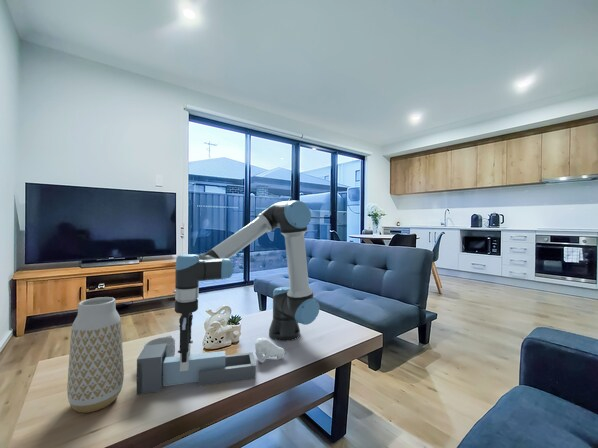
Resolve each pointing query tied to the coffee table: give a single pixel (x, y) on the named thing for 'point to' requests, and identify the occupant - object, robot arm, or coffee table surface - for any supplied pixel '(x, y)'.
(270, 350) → the white irregular piece
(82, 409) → the vase
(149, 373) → the endcap
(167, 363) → the blue-grey rectangular block
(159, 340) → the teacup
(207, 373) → the endcap
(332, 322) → the coffee table surface
